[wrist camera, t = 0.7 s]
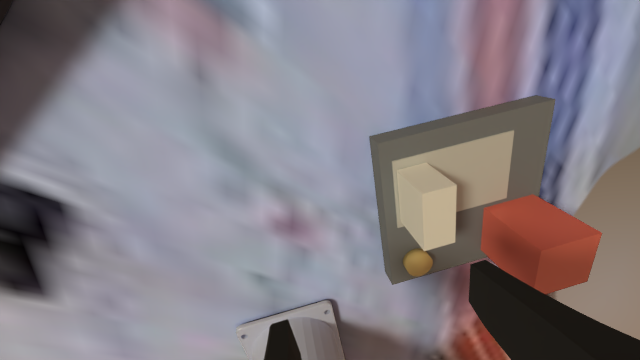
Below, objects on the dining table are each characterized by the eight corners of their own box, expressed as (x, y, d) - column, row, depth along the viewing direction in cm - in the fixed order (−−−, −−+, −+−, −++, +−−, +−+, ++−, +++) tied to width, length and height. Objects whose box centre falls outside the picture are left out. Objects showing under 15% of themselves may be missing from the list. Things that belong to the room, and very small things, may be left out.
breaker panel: (516, 233, 26) (538, 250, 24) (385, 271, 25) (396, 292, 23) (535, 95, 20) (566, 101, 18) (369, 136, 19) (382, 147, 17)
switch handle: (427, 213, 21) (455, 242, 18) (400, 221, 21) (424, 251, 18) (426, 162, 19) (456, 184, 16) (396, 170, 19) (422, 194, 16)
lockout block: (526, 236, 24) (587, 281, 20) (480, 249, 24) (532, 298, 19) (533, 194, 22) (602, 233, 18) (483, 207, 22) (541, 250, 17)
